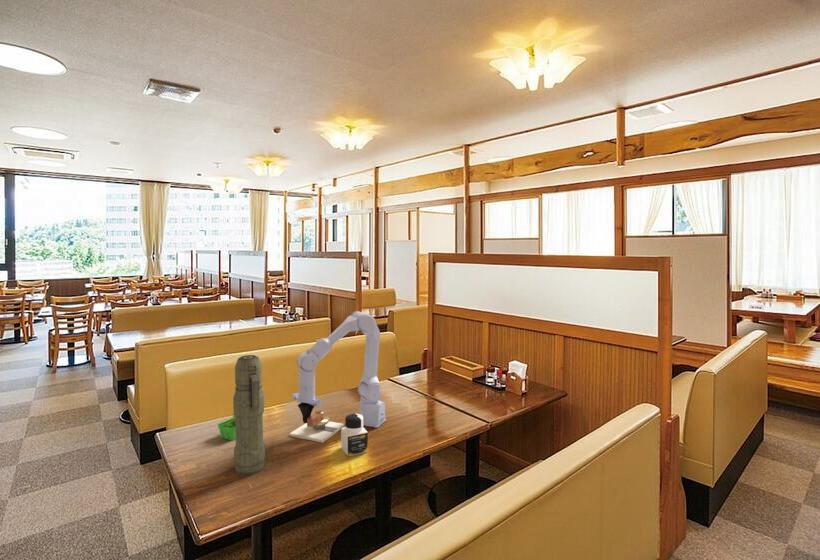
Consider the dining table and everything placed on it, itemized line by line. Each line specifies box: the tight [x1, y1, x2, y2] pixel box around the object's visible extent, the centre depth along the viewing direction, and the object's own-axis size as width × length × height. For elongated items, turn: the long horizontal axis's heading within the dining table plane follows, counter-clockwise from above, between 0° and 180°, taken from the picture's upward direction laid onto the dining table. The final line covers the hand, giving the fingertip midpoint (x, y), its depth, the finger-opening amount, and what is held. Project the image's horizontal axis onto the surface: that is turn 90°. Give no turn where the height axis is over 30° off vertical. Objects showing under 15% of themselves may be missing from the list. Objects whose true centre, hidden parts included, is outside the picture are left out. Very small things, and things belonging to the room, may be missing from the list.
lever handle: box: [307, 409, 331, 427], centre depth 159 cm, size 8×11×4 cm
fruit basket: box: [217, 412, 236, 441], centre depth 156 cm, size 11×9×11 cm
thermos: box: [232, 354, 266, 476], centre depth 131 cm, size 9×12×35 cm
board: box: [289, 421, 345, 443], centre depth 160 cm, size 14×15×3 cm
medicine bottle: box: [340, 413, 369, 457], centre depth 145 cm, size 7×7×12 cm
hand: (306, 422), depth 156 cm, fingers closed
